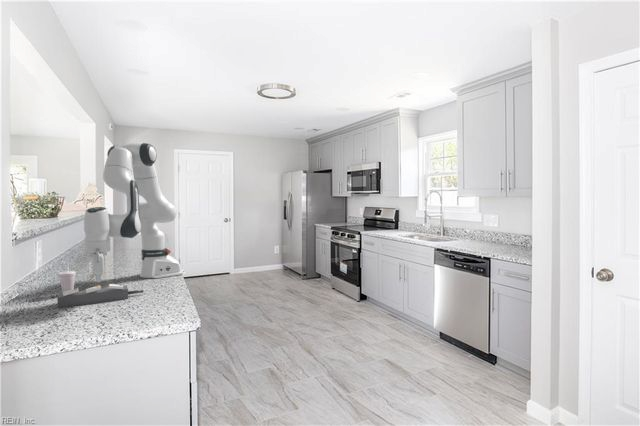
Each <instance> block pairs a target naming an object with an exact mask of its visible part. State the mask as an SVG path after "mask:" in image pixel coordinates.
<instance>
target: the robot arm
mask: <svg viewBox="0 0 640 426" xmlns="http://www.w3.org/2000/svg"><path fill="white" fill-rule="evenodd" d="M106 156H107V158H106V161H105V165H104V168H103V175H102V178H103V181H104V183H105V184H106V185H107V186H108V187H109V188H111V189H112V190H114V191H116V192H119V193H122V194H124V195H125V196H126V213H124V214H111V213H109V210H108V208H106V207H104V206H95V207H90V208H87V209H86V210H85V213H84V218H83V220H84V221H83V232H84V234H85V236H84V237H85V238H84V253H85V254H88V257H90V258H91V259H92V261H91V262H92V265H91V266H92V275H94V276H95V281H96V283H100V282H102V275H103V274H104V271H105V270H104V266H105V265H104V264H105V263H104V262H105V257H106V256H108V253H109V252H111V238H124V239H125V238H127V239H133V238H135V237H136V236H137V235H138V234H140V235H141V247H142V249H141V252H140V255H141V256H140V257H141V269H140V273H139V277H140V278H143V279H144V278H145V279H161V278H167V277H168V278H169V277H174V276H181V275H185V274H186V270H185V269H184V268H182V267H181V264H180V261H179V260H177V259H176V258H175V257H174V256H171V255H170V254H171V252H172V250H171V249H170V248H166V241H165V240H166V239H165V238H166V237H165V236H166V235H165V233H164V232H163V231H162V230H160V229H159V227H158V226H157V224H166V223H167V224H168V223H171V222H173V221H175V219H176V217H177V213H178V212H177V209H176V206H175V205H174V204H173V203H171V202H170V201H168V199H167V198H166V197H165V196H164V193H163V192H162V189H161V186H160V183H159V177H158V173H157V168H156V166H155V163H156V160H157V150H156V147H154V145H152V144H151V143H146V142H145V143H144V142H143V143H137V142H136V143H135V142H133V143H132V142H131V143H127V144H126V143H125V144H124V143H123V144H115V145H113V146H111V147H110V148H109V149H108V151H107V155H106ZM132 176H133V177H132ZM139 196H140V197H142V198H143V199H144V200H145V201H143V202H141V201H140V197H139Z"/></svg>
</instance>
